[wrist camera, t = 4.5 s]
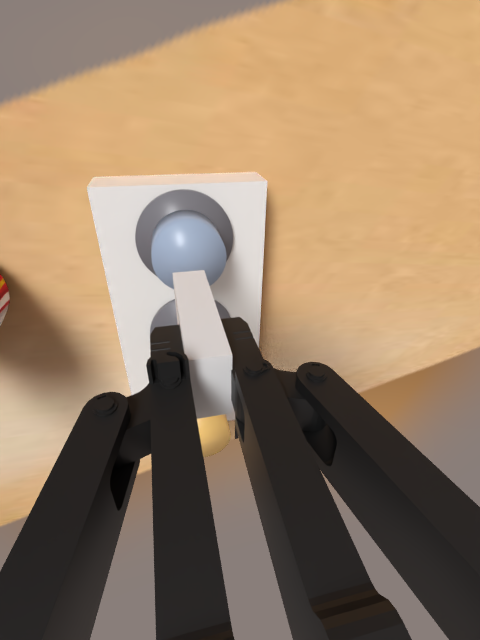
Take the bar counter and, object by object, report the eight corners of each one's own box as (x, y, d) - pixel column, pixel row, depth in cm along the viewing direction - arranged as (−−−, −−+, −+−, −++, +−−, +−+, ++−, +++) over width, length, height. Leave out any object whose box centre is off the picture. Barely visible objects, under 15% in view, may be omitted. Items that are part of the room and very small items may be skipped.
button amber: (176, 437, 31) (177, 461, 29) (171, 401, 29) (172, 425, 27) (225, 429, 32) (230, 452, 30) (224, 393, 30) (230, 416, 28)
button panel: (140, 410, 35) (139, 438, 33) (93, 176, 23) (85, 189, 21) (248, 395, 37) (256, 419, 35) (256, 171, 25) (269, 182, 23)
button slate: (155, 277, 24) (156, 295, 22) (147, 211, 22) (146, 224, 19) (220, 272, 25) (226, 288, 23) (219, 207, 22) (226, 220, 20)
